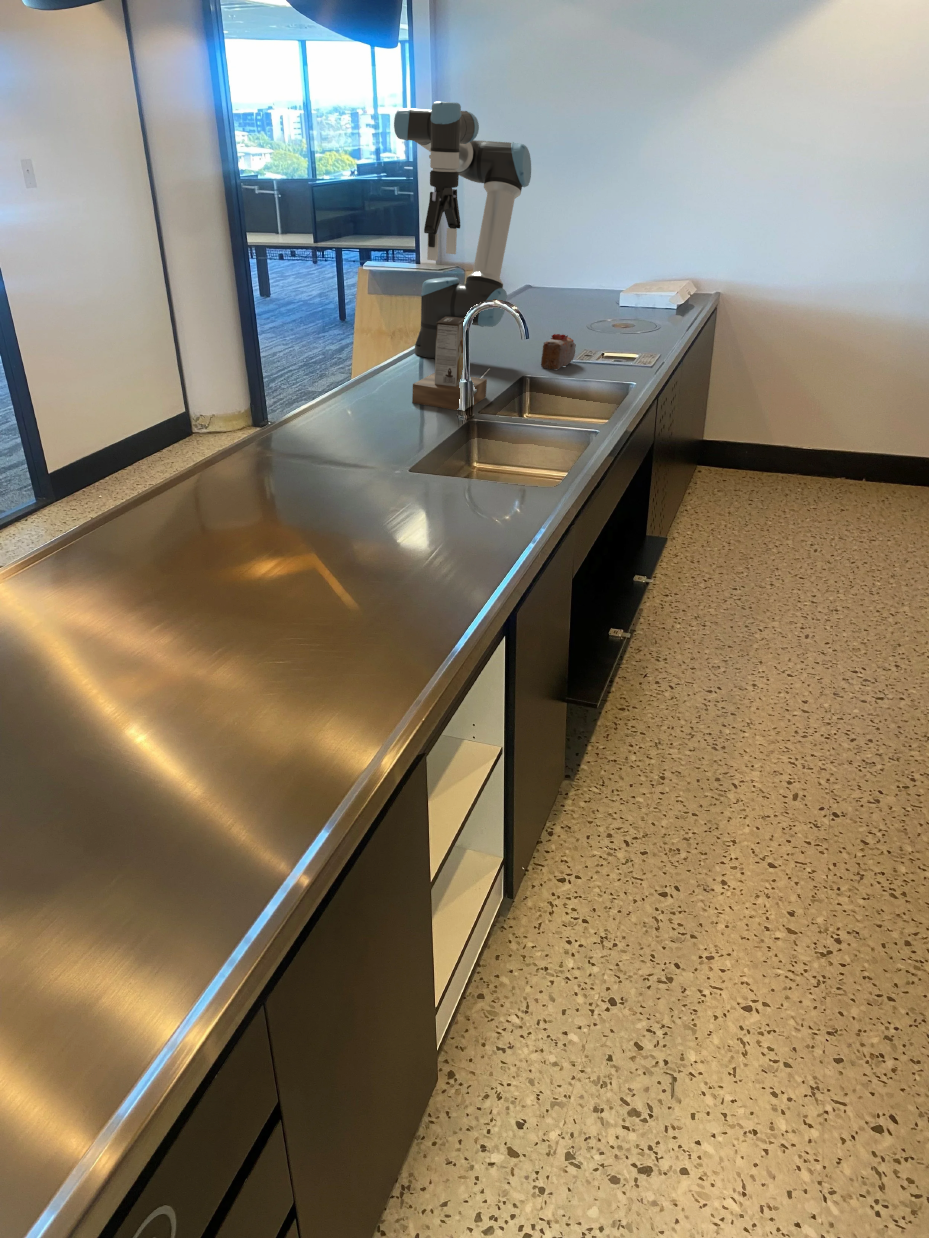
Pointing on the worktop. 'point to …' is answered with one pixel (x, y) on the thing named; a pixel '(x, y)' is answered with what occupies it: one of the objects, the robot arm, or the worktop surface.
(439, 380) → the coffee box
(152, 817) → the worktop surface
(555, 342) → the food item
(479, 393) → the walnut base
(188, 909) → the worktop surface
